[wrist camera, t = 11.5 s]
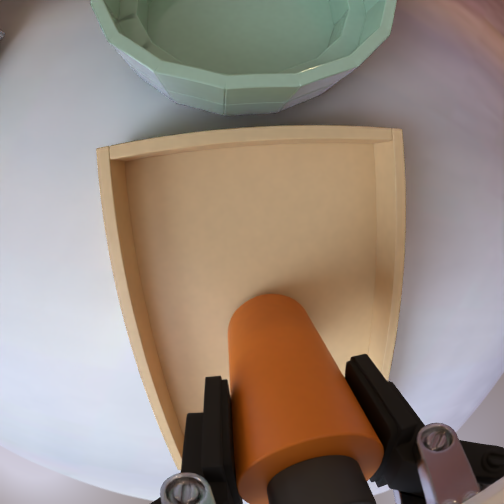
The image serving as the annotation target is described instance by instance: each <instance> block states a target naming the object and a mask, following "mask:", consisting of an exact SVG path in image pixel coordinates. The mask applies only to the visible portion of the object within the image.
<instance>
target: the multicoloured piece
mask: <svg viewBox="0 0 504 504" xmlns="http://www.w3.org/2000/svg"><path fill="white" fill-rule="evenodd" d="M4 35H5V33H4V32H2V31H1V30H0V40H1V39H2V38H3V36H4Z"/></svg>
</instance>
